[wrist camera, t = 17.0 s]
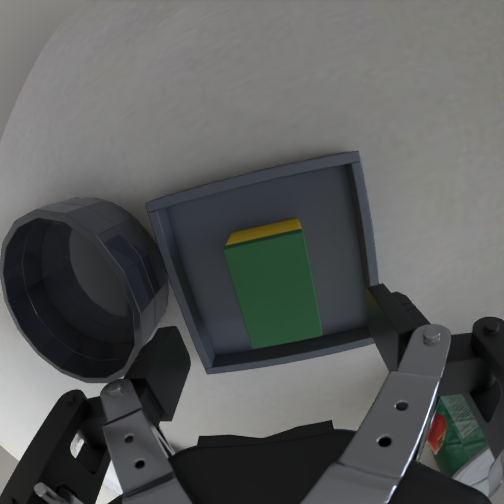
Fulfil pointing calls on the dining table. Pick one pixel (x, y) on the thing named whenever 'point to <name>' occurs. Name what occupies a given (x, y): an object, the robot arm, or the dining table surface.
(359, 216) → the sponge dish
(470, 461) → the canned tomato
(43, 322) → the black bowl
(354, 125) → the dining table surface
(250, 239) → the sponge
